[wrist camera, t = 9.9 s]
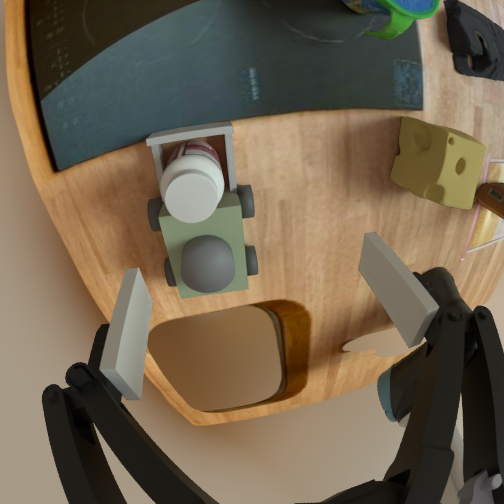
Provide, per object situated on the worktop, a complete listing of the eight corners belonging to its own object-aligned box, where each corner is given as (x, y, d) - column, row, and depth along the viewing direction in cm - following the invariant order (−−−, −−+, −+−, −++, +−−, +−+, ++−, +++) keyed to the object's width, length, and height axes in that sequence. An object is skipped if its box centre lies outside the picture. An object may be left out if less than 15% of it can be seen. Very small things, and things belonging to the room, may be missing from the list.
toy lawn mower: (254, 262, 42) (265, 305, 34) (172, 274, 40) (168, 319, 33) (243, 119, 30) (257, 132, 22) (139, 135, 28) (117, 154, 21)
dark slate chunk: (507, 91, 28) (524, 96, 25) (448, 70, 27) (469, 74, 23) (502, 27, 19) (519, 29, 16) (437, -10, 18) (457, -12, 15)
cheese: (387, 178, 37) (429, 208, 29) (400, 110, 31) (449, 126, 23) (432, 184, 39) (471, 212, 30) (445, 125, 33) (490, 144, 24)
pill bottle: (183, 195, 34) (176, 241, 25) (160, 153, 30) (141, 186, 21) (227, 174, 33) (238, 214, 24) (207, 130, 30) (208, 152, 21)
